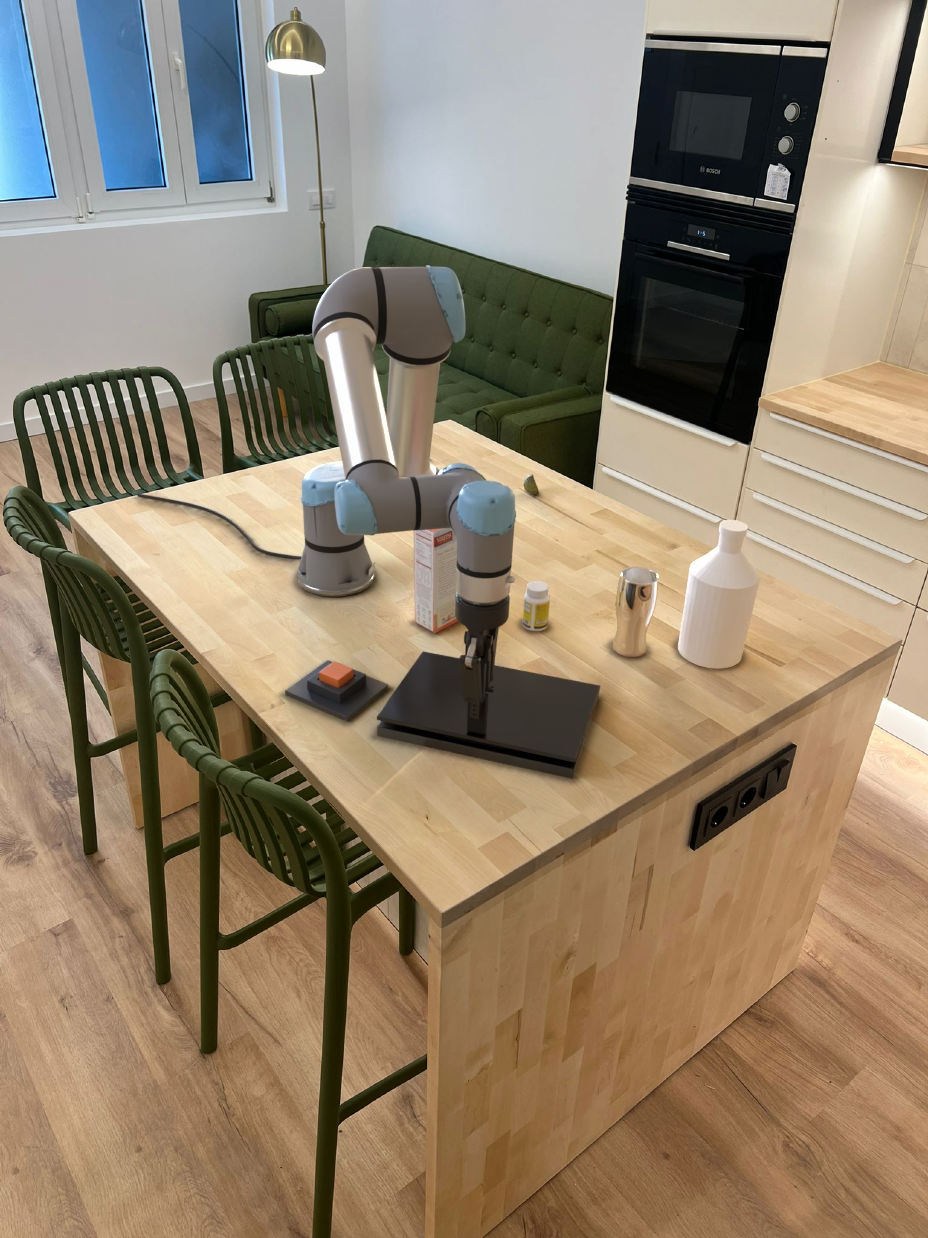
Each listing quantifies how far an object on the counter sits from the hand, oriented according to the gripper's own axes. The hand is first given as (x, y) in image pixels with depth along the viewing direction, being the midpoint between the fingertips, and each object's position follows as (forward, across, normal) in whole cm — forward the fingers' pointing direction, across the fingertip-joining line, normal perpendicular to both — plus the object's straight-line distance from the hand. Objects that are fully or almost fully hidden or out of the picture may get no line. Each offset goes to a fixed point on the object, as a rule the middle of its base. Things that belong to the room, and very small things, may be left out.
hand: (476, 730), depth 141 cm
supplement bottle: (+4, +39, 0) cm, 39 cm away
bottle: (+4, +41, -32) cm, 52 cm away
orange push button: (+4, +7, +26) cm, 27 cm away
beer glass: (+4, +37, -18) cm, 41 cm away
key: (+1, +7, +26) cm, 27 cm away
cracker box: (+4, +37, +16) cm, 41 cm away
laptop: (+4, +9, 0) cm, 10 cm away
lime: (+4, +99, +15) cm, 100 cm away
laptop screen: (+2, +9, 0) cm, 9 cm away
